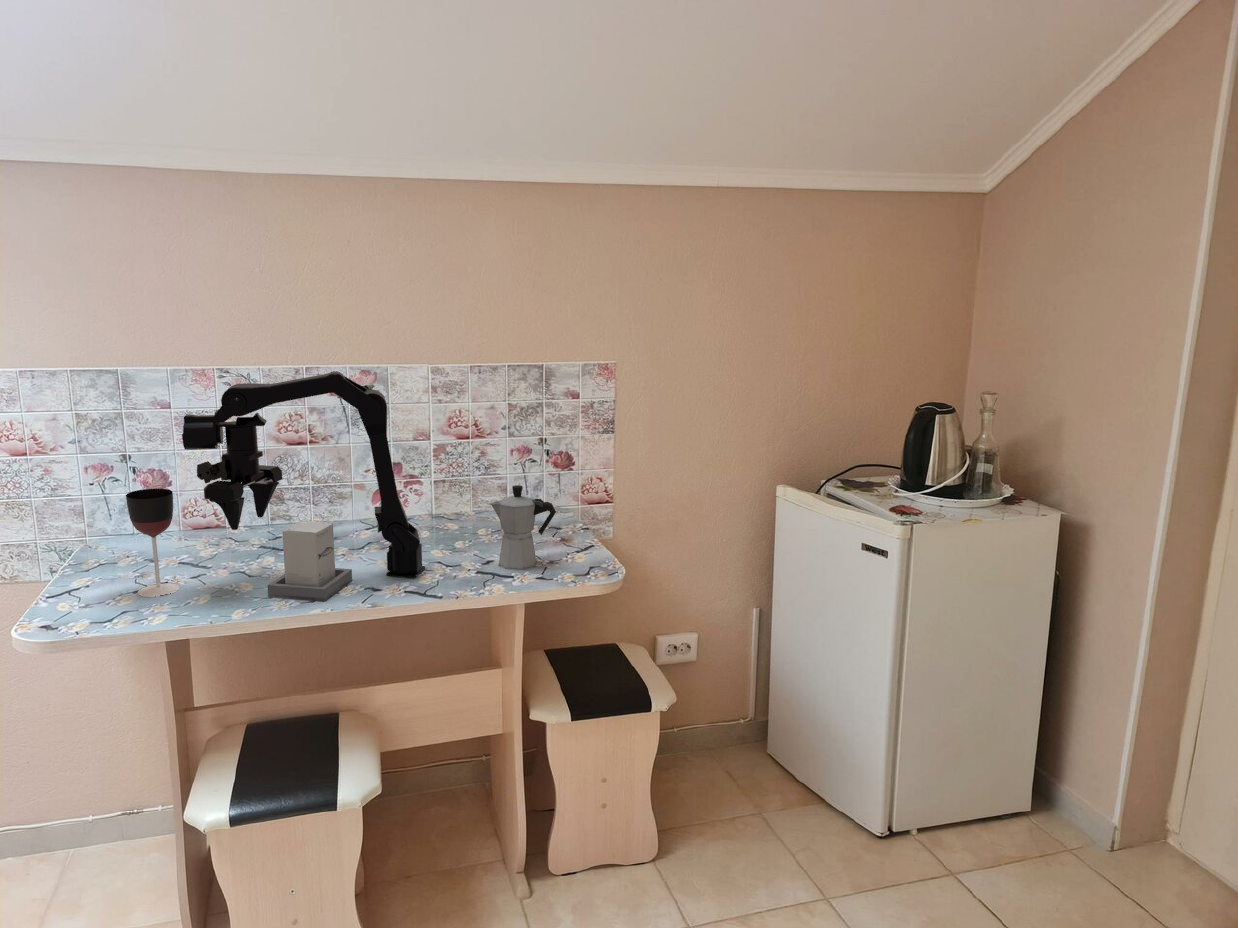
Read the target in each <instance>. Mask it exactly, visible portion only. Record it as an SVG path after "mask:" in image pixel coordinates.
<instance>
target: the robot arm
mask: <svg viewBox="0 0 1238 928" xmlns="http://www.w3.org/2000/svg"><path fill="white" fill-rule="evenodd" d="M332 393H333V394H335V395H336V396H338V397H339V398H340V399H341V400H344V402H346V403H348V404H349V405H350V406H351V407H354V408H355V409H356V410H357V411H358V414H359V416H360V420H361V423H362V424H363V427H364V429H365V432H366V434H367V435H368V438H369V445H370V449H371V454H372V460H373V466H374V471H375V475H376V480H377V486H378V491H379V496H380V506H374V517H375V519H376V521H377V522H376V525H377V533H378V534H379V533H381V535H382V537H383V539H384V540H386V541H387V542H389V543H390V545H388V551H387V552H386V567H387V568H386V569H387V572H386V576H388V577H400V578H413V579H414V578H417V577H418V576H419V575H420V573H422V572H423V571H424V570H425V569H426V566H425V565H423V549H422V544H423V543H421V540H420V536H419V531H418V528H416V527H415V526H413V525H412V524H411V522H409V520H408V517H407V514H406V511H405V509H404V506H403V504H402V502H401V499H400V496H399V494H398V488H397V483H396V477H395V473H394V467H393V462H392V457H391V456H392V455H391V451H390V445H389V441H388V434H387V433H388V430H387V429H388V406H387V401H386V397H385V396H384V394H383V393H382V392H380V391H379V390H377V389H367V388H366V387H364V386H363V385H361V384H359V383H357V382H356V381H354V380H352V379H351V378H349V377H347V376H345V375H344V374H343V373H342V372H341V371H335V370H334V371H333V370H332V371H330V372H328V373H324V374H319V375H313V376H307V377H301V378H297V379H290V380H284V381H278V382H274V383H256V382H255V383H254V382H251V383H250V382H247V383H246V382H245V383H235V384H233V385H231V386H229V387H228V388H227V389H226V390H225V391H224V392H223V394H222V396H221V399H220V402H221V406H220V408H218V409H217V410H216V411H215V412H214V414H207V415H205V414H204V415H203V414H201V415H200V414H199V415H196V414H186V415H184V416H183V427H182V428H183V429H182V434H181V437H182V440H181V441H182V446H183V448H184V450H188V451H189V450H193V451H194V450H217V449H218V445H219V444H220V445H221V444H223V443H224V432H225V443H226V453H223V454H222V455H221V456H220V459H221V461H219V462H216V463H213V464H212V463H211V462H210V461H208V460H207V461H205V462H202V463H198V464H196V477H197V478H198V479H199V480H201V481H204V483H205V484H206V486H205V487H203V496H204V497H203V498H204V499H205V500H208V501H210V502H211V503H215V504H216V505H218V506H219V507H220V508H221V511H222V513H223V514H224V516H225V518H226V520H227V523H228V525H229V527H230V529H231V530H232V531H237V530H238V528H239V525H240V522H241V518H242V517H241V516H242V514H243V513H242V512H243V508H244V502H245V496H243V494H244V492H245V491H244V488H246V487H248V488H249V489H250V490H251V491H252V495H253V496H252V497H253V502H254V506H255V509H254V510H255V513H256V516H257V518H263V517H264V515H265V513H266V511H267V508H268V506H269V503H270V501H271V499H272V497H273V495H274V493H275V492H276V491H275V490H276V488H277V487H278V485H280V482H279V481H282V480H283V470H282V469H281V468H280V467H279V466H277V465H261V464H260V459H259V458H261V457H263V456H264V452H263V451H261V450H259V447H258V433H257V432H258V431H257V427H264V426H265V425H266V423H267V419H265V418H264V417H263V416H261V414H259V412H256V411H259V410H262V409H264V408H266V407H268V406H271V405H273V404H279V403H283V402H289V401H294V400H299V399H304V398H310V397H316V396H322V395H327V394H332ZM254 412H255V414H254V415H253V416H246V415H248V414H251V413H254ZM233 417H236V420H235V421H234V420H233V421H229V419H231V418H233ZM223 428H224V429H223ZM219 479H221V480H219ZM212 481H213V482H212ZM210 482H211V483H210Z"/></svg>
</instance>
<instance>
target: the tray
mask: <svg viewBox="0 0 1238 928" xmlns="http://www.w3.org/2000/svg"><path fill="white" fill-rule="evenodd" d="M351 582H353V570H352V569H351V568H339V567H335V578H334V579H333V580H331V581H330V582H329V583H327V584H326V585H324V586H323V587H313V586H300V585H287V584H285V573H284V574H282V575H281V576H279V577H277V578H276V579H274V580H272V581H271V582H270V583H268V584H267V597H268V598H279V599H293V600H303V601H304V600H305V601H318V602H327V601H328V600H329V599H330V598H331V597H333V596H334V595H335V594H337V593H338V592H339V591H340V590H342V589H343V588H345V587H346V586H347V585H349V584H350V583H351Z"/></svg>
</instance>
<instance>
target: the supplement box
mask: <svg viewBox="0 0 1238 928" xmlns="http://www.w3.org/2000/svg"><path fill="white" fill-rule="evenodd" d="M281 531H282V532H281V533H282V546H283V547H282V549H283V564H284V574H285V584H287V585H300V586H313V587H323V586H324V585H326V584H327V583H329V582H330V581H331V580H333V579H334V578H335V568H336V564H335V560H336V559H335V540H334V539H335V538H334V523H333V522H326V521H325V522H322V521H310V520H309V521H307V520H306V521H305V520H304V521H303V520H301V521H299V522H297V523H295V524H293V525H291V526H289V527H287V528H286V529H283V530H281Z"/></svg>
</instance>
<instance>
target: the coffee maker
mask: <svg viewBox="0 0 1238 928" xmlns="http://www.w3.org/2000/svg"><path fill="white" fill-rule="evenodd" d="M523 488H524V487H523V485H519V484H518V485H517V484H516V485H512V493H513V495H512V496H508V497H504V498H502V499H499V500H497V501H493V502H489V503H488V505H490V506H491V507H492V508H493V511H494V512H495V514H496V516H497V517H498V519H499V522H500V527H501V530H502V531H503V535H502V538H501V539H502V540H501V546H500V553H499V560H498V566H499V567H501V568H504V569H506V570H513V571H514V570H518V571H522V570H523V571H524V570H527V569H530V568H534V567H536V564H537V556H536V550H535V545H534V538H533V534H532V531H533V530H534V529H535V528H534V527H535V521H536V515H539V514H542V513H545V512H549V515H548V516H547V518H545V520H544V522H543V524H541V527H540V528H539V529H538V531H537V532H538V534H540V535H541V536H542V535H543V534H544V532H545V530H546V529H547V527H548V526H549V524H550V522H551V521H552V519H553V518H554V516H555V514H556V513H557V511H556V508H555V507H554V505H553V503H551V502H549V501H544V500H543V499H542V498H532V497H527V496H523V495H522V492H523Z"/></svg>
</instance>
